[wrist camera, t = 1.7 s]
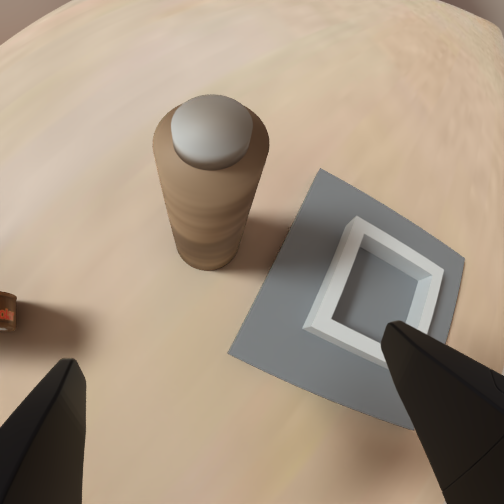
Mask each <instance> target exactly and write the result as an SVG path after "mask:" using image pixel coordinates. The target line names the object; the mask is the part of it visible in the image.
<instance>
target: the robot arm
mask: <svg viewBox="0 0 504 504" xmlns="http://www.w3.org/2000/svg"><path fill="white" fill-rule="evenodd" d="M381 350H382V353H383V355H384V358H385V361H386V363H387V366H388V369H389V371H390V374H391V377H392V380H393V382H394V385H395V388H396V390H397V392H398V394H399V396H400V398H401V401H402V403H403V405H404V407H405V409H406V411H407V413H408V415H409V417H410V420H411V422H412V424H413V426H414V428H415V430H416V433H417V435H418V437H419V439H420V441H421V444H422V446H423V448H424V450H425V453H426V455H427V457H428V459H429V462H430V464H431V466H432V469H433V471H434V473H435V476H436V478H437V481H438V483H439V485H440V488H441V490H442V493H443V496H444V498H445V501H446V503H447V504H504V376H503V375H501V374H499V373H497V372H496V371H494V370H492V369H489V368H488V367H486V366H484V365H483V364H481V363H479V362H477V361H475V360H473V359H472V358H470V357H468V356H466V355H464V354H462V353H460V352H459V351H457V350H455V349H453V348H451V347H449V346H448V345H446V344H444V343H442V342H440V341H438V340H436V339H434V338H433V337H431V336H429V335H427V334H425V333H423V332H421V331H420V330H418V329H416V328H414V327H412V326H410V325H408V324H406V323H405V322H403V321H401V320H397V321H392V322H389V323H388V324H387V325H386V328H385V331H384V334H383V337H382V340H381ZM85 435H86V380H85V377H84V375H83V373H82V371H81V369H80V367H79V365H78V363H77V361H76V360H75V359H73V358H63V359H61V360H59V362H58V363H57V364H56V365H55V366H54V367H53V368H52V369H51V370H50V371H49V372H48V373H47V375H46V376H45V377H44V378H43V379H42V380H41V381H40V382H39V383H38V385H37V386H36V387H35V388H34V389H33V390H32V391H31V392H30V393H29V395H28V396H27V397H26V398H25V399H24V400H23V401H22V403H21V404H20V405H19V406H18V407H17V408H16V410H15V411H14V412H13V413H12V414H11V415H10V417H9V418H8V419H7V420H6V421H5V422H4V424H3V425H2V426H1V427H0V504H82V479H83V461H84V448H85Z"/></svg>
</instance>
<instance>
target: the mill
mask: <svg viewBox="0 0 504 504" xmlns="http://www.w3.org/2000/svg"><path fill="white" fill-rule="evenodd" d="M153 152H154V157H155V161H156V166H157V170H158V175H159V179H160V183H161V188H162V192H163V196H164V200H165V204H166V208H167V212H168V216H169V220H170V224H171V228H172V232H173V235H174V239H175V243H176V247H177V250H178V252H179V254H180V256H181V258H182V259H183V260H184V261H185V262H186V263H187V264H188V265H190V266H192V267H194V268H196V269H199V270H207V271H209V270H216V269H219V268H221V267H223V266H225V265H226V264H228V263H229V262H230V261H231V260H232V259H233V257H234V256H235V254H236V252H237V250H238V246H239V243H240V240H241V237H242V234H243V230H244V227H245V224H246V221H247V218H248V215H249V211H250V208H251V205H252V202H253V199H254V196H255V193H256V189H257V186H258V183H259V180H260V177H261V174H262V171H263V168H264V165H265V161H266V158H267V155H268V152H269V136H268V132H267V130H266V127H265V126H264V124H263V122H262V121H261V120H260V118H259V117H258V116H257V115H256V114H255V113H254V112H252V111H251V110H250V109H248V108H247V107H245V106H243V105H242V104H241V103H239V102H238V101H236V100H234V99H232V98H229V97H226V96H222V95H202V96H198V97H195V98H192V99H190V100H188V101H186V102H185V103H183V104H181V105H179V106H177V107H175V108H174V109H172V110H171V111H170V112H169V113H167V114H166V115H165V116H164V117H163V119H162V120H161V121H160V122H159V124H158V126H157V128H156V130H155V133H154V137H153Z"/></svg>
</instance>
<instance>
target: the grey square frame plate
mask: <svg viewBox="0 0 504 504" xmlns="http://www.w3.org/2000/svg"><path fill="white" fill-rule="evenodd" d="M464 260H465V258H464V257H462V256H461V255H459V254H458V253H457V252H455V251H454V250H452V249H451V248H449V247H448V246H447V245H445V244H444V243H442V242H441V241H439V240H438V239H436V238H435V237H434V236H432V235H431V234H429V233H428V232H426V231H425V230H423V229H422V228H420V227H419V226H417V225H415V224H414V223H412V222H411V221H409V220H408V219H406V218H405V217H403V216H401V215H400V214H398V213H397V212H395V211H393V210H392V209H390V208H389V207H387V206H385V205H384V204H382V203H380V202H379V201H377V200H375V199H374V198H372V197H370V196H369V195H367V194H365V193H364V192H362V191H360V190H359V189H357V188H355V187H353V186H352V185H350V184H348V183H346V182H345V181H343V180H341V179H339V178H337V177H336V176H334V175H332V174H330V173H328V172H326V171H325V170H323V169H321V168H320V169H319V171H318V173H317V174H316V177H315V179H314V181H313V183H312V185H311V187H310V189H309V191H308V193H307V195H306V197H305V199H304V201H303V204H302V206H301V208H300V210H299V212H298V214H297V216H296V218H295V220H294V222H293V224H292V226H291V228H290V230H289V232H288V234H287V236H286V238H285V240H284V242H283V244H282V246H281V248H280V250H279V253H278V255H277V257H276V259H275V261H274V263H273V265H272V267H271V269H270V271H269V273H268V275H267V277H266V279H265V281H264V283H263V285H262V287H261V289H260V290H259V292H258V294H257V296H256V298H255V300H254V302H253V304H252V306H251V308H250V310H249V312H248V314H247V316H246V318H245V320H244V322H243V324H242V326H241V328H240V330H239V332H238V334H237V336H236V337H235V339H234V341H233V343H232V345H231V347H230V349H229V351H228V354H230V355H232V356H234V357H236V358H238V359H240V360H242V361H244V362H246V363H248V364H250V365H252V366H254V367H256V368H258V369H260V370H262V371H264V372H267V373H269V374H271V375H273V376H275V377H277V378H280V379H282V380H284V381H286V382H288V383H291V384H293V385H295V386H297V387H300V388H302V389H304V390H307V391H309V392H311V393H314V394H316V395H318V396H321V397H323V398H326V399H328V400H331V401H333V402H336V403H338V404H341V405H343V406H346V407H348V408H351V409H353V410H356V411H359V412H361V413H364V414H367V415H369V416H372V417H375V418H378V419H381V420H383V421H386V422H389V423H392V424H395V425H398V426H401V427H404V428H407V429H410V430H414V426H413V424H412V422H411V420H410V417H409V415H408V413H407V411H406V409H405V407H404V405H403V403H402V401H401V398H400V396H399V394H398V392H397V390H396V388H395V385H394V382H393V380H392V377H391V374H390V371H389V369H388V366H387V363H386V361H385V358H384V355H383V353H382V350H381V340H382V337H383V334H384V331H385V328H386V325H387V324H388V323H389V322H392V321H397V320H401V321H403V322H405V323H406V324H408V325H410V326H412V327H414V328H416V329H418V330H420V331H421V332H423V333H425V334H427V335H429V336H431V337H433V338H434V339H436V340H438V341H440V342H442V343H444V344H445V343H446V339H447V336H448V332H449V329H450V325H451V321H452V317H453V313H454V309H455V305H456V300H457V296H458V291H459V287H460V282H461V277H462V271H463V266H464Z"/></svg>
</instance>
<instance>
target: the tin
mask: <svg viewBox="0 0 504 504" xmlns="http://www.w3.org/2000/svg"><path fill="white" fill-rule="evenodd" d="M16 299H17V297H16V296H15V295H13V294H10V293H6V292H1V291H0V331H8V332H11V331H14V330H15V329H16Z"/></svg>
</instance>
